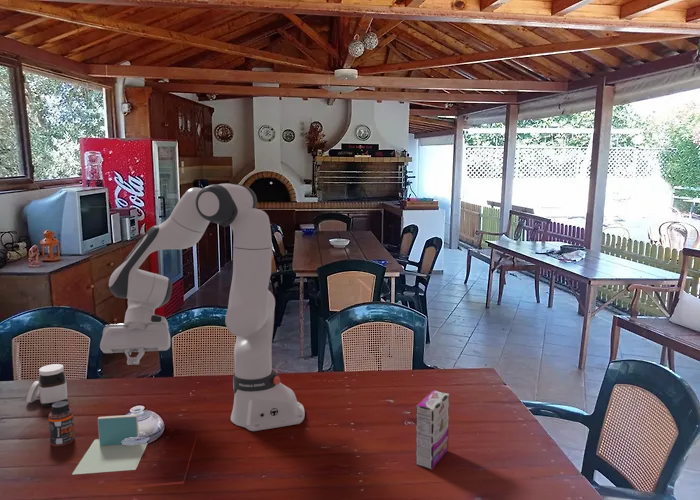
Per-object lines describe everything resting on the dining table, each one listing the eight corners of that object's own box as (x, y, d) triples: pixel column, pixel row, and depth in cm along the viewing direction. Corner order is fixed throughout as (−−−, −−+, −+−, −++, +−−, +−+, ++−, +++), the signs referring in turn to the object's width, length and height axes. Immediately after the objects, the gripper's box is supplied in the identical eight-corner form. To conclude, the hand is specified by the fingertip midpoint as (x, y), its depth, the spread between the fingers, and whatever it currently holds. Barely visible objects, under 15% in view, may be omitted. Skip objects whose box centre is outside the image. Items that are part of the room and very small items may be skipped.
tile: (139, 441, 142) (137, 414, 141) (138, 443, 141) (136, 416, 140) (100, 444, 141) (98, 416, 140) (99, 446, 140) (97, 418, 138)
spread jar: (69, 404, 166) (66, 370, 164) (28, 413, 160) (24, 377, 158) (65, 391, 176) (62, 358, 174) (26, 399, 169) (23, 365, 168)
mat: (151, 437, 146) (151, 435, 146) (135, 471, 129) (135, 469, 129) (94, 441, 143) (94, 439, 143) (71, 476, 127) (71, 474, 127)
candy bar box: (431, 445, 142) (433, 389, 139) (448, 450, 139) (450, 393, 137) (414, 464, 132) (415, 404, 130) (432, 470, 130) (434, 409, 127)
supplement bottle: (64, 449, 139) (61, 409, 137) (45, 447, 140) (41, 407, 139) (80, 438, 145) (77, 400, 143) (61, 436, 146) (58, 398, 144)
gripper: (101, 319, 160) (93, 361, 151) (170, 317, 163) (165, 357, 155) (107, 329, 165) (99, 369, 156) (173, 326, 168) (169, 366, 160)
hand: (132, 363), depth 155 cm, fingers closed
